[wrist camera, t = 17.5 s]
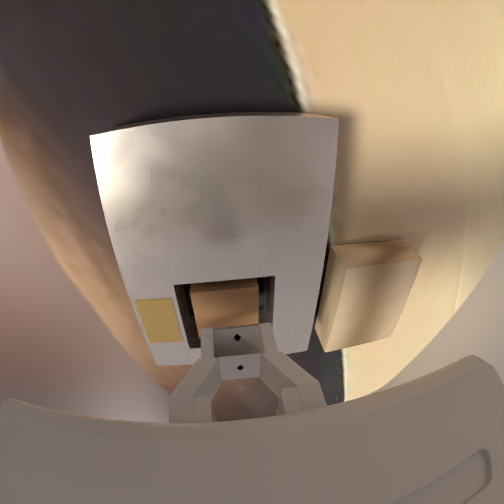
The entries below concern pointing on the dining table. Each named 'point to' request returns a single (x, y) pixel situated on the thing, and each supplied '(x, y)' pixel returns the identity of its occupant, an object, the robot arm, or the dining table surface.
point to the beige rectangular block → (364, 292)
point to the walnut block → (225, 303)
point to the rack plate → (219, 216)
